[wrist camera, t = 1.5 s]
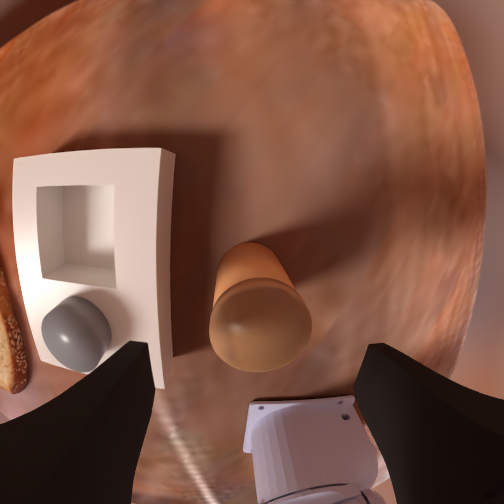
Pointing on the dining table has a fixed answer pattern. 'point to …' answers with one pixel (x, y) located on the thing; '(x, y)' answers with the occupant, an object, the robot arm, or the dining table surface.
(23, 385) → the bread slice
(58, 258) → the cream block with recess
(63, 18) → the dining table surface
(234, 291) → the orange tapered cylinder
